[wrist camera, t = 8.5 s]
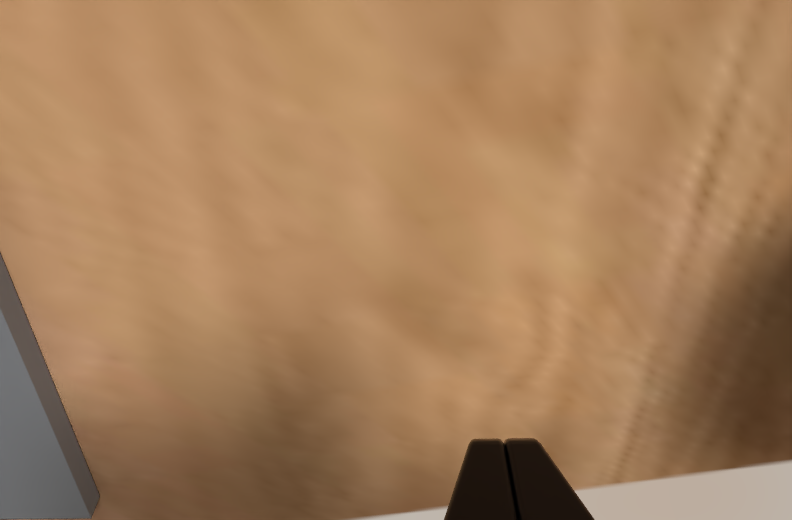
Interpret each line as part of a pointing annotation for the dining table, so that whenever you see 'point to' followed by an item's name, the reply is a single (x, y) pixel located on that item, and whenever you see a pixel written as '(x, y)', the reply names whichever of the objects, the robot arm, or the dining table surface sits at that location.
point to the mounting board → (35, 428)
